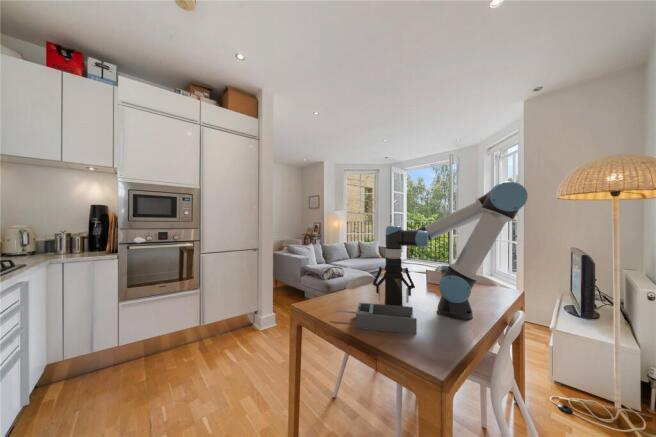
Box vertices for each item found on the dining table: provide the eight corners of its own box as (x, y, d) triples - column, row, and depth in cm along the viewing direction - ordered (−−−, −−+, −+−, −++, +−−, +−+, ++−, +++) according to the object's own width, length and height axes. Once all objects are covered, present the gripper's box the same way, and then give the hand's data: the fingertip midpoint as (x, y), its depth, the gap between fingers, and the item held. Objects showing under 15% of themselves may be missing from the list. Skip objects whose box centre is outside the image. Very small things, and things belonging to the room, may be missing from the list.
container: (403, 317, 111) (403, 274, 111) (384, 315, 113) (384, 273, 113) (401, 310, 119) (402, 270, 120) (383, 308, 121) (383, 269, 122)
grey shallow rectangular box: (412, 320, 108) (412, 306, 108) (416, 334, 94) (416, 319, 94) (359, 315, 113) (359, 302, 113) (355, 328, 99) (355, 313, 99)
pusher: (373, 314, 110) (373, 303, 110) (372, 324, 99) (372, 312, 99) (338, 311, 114) (338, 301, 114) (333, 321, 103) (334, 309, 103)
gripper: (418, 257, 117) (418, 300, 117) (368, 255, 123) (368, 296, 123) (421, 259, 110) (421, 305, 110) (367, 257, 116) (367, 301, 115)
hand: (393, 301), depth 116 cm, fingers open, 12 cm apart
